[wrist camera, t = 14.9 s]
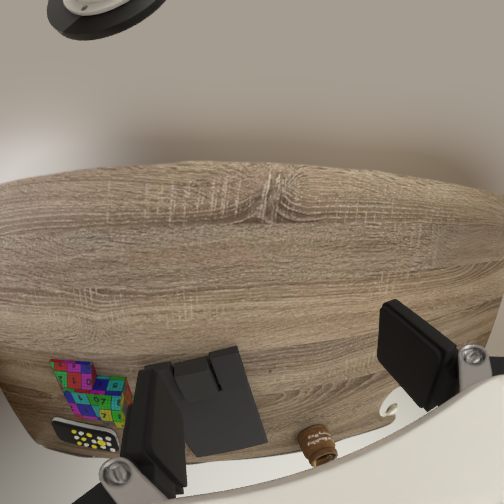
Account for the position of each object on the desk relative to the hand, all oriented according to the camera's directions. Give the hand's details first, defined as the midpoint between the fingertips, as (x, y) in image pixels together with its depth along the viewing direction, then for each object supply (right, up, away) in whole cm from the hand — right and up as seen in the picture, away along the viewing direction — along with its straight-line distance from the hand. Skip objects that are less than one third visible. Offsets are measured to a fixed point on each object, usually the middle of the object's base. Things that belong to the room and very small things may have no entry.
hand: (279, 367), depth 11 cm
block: (-25, -15, +24) cm, 37 cm away
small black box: (-9, -12, +26) cm, 30 cm away
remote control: (-31, -27, +26) cm, 49 cm away
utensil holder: (+10, -30, +35) cm, 47 cm away
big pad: (-7, -19, +28) cm, 35 cm away
